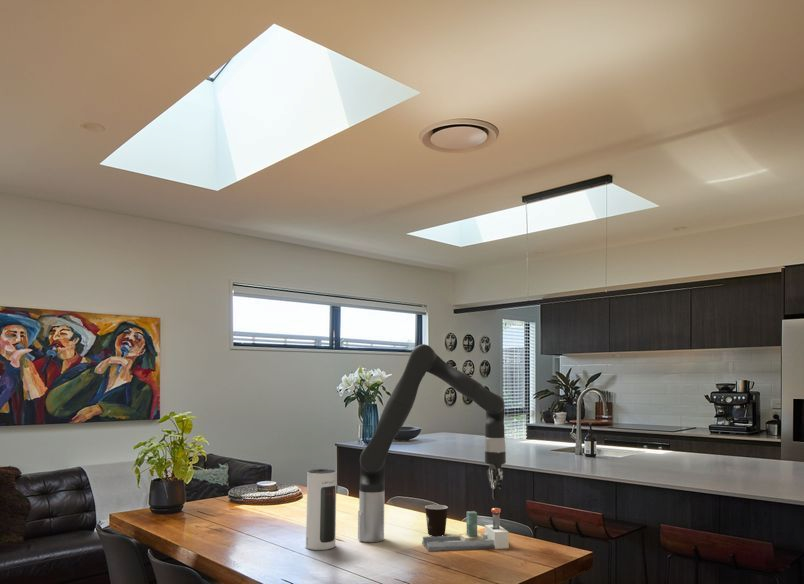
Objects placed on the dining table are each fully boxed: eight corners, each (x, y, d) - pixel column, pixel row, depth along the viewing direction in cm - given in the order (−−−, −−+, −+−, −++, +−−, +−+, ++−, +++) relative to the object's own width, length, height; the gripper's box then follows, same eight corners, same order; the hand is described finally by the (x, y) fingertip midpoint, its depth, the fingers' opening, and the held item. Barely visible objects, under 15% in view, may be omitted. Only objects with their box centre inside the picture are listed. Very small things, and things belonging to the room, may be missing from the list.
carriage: (464, 543, 215) (464, 514, 217) (460, 540, 220) (460, 511, 222) (483, 543, 216) (483, 513, 218) (479, 539, 221) (478, 510, 223)
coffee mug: (446, 537, 229) (446, 509, 230) (423, 536, 230) (423, 508, 232) (450, 530, 240) (450, 503, 241) (428, 529, 242) (428, 502, 243)
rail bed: (428, 551, 210) (428, 543, 210) (422, 543, 220) (422, 536, 220) (504, 548, 215) (504, 540, 216) (494, 540, 225) (494, 533, 225)
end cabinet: (495, 548, 214) (494, 532, 215) (484, 540, 225) (484, 525, 225) (508, 548, 215) (508, 531, 216) (497, 540, 226) (497, 524, 226)
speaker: (310, 552, 208) (312, 472, 212) (300, 544, 217) (303, 468, 221) (339, 548, 213) (341, 470, 216) (329, 541, 222) (330, 466, 226)
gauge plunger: (493, 536, 218) (493, 509, 220) (490, 534, 221) (490, 508, 223) (502, 536, 219) (501, 509, 220) (499, 534, 222) (498, 507, 223)
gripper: (479, 448, 230) (480, 496, 228) (491, 452, 217) (492, 503, 215) (498, 448, 232) (499, 495, 229) (511, 451, 219) (512, 502, 216)
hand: (495, 499), depth 222 cm, fingers closed
